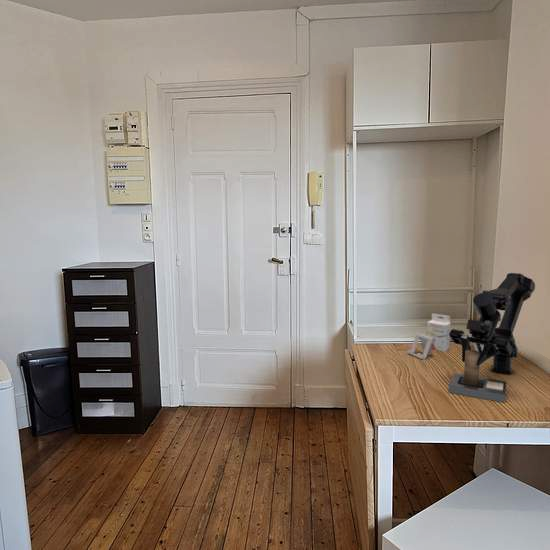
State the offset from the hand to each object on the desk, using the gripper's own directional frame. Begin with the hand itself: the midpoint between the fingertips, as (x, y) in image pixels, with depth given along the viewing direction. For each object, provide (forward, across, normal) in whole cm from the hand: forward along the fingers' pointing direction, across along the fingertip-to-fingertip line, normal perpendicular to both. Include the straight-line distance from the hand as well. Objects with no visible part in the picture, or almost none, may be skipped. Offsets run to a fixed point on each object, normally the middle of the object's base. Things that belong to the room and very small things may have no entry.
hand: (470, 363), depth 134 cm
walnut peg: (+4, 0, +6) cm, 7 cm away
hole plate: (+5, +2, +8) cm, 10 cm away
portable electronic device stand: (-8, -29, +21) cm, 37 cm away
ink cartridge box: (-17, -30, +31) cm, 46 cm away
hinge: (-24, -15, +38) cm, 47 cm away
